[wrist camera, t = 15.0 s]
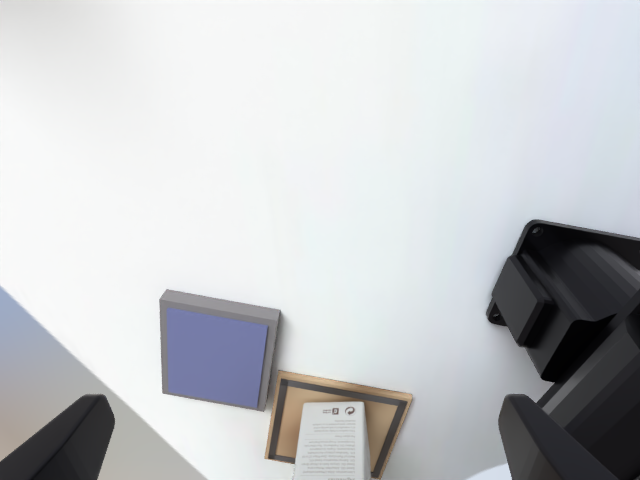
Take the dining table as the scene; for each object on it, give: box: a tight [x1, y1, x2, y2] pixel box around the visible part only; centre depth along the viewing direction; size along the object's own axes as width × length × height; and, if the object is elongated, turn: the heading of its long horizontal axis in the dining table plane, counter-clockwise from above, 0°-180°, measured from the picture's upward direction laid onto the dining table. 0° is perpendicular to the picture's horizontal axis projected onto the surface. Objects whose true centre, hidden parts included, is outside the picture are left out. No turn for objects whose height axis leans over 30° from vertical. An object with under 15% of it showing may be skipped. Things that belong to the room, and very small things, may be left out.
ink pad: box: [160, 290, 280, 412], centre depth 26 cm, size 7×8×1 cm
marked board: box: [265, 371, 412, 479], centre depth 29 cm, size 9×9×1 cm
